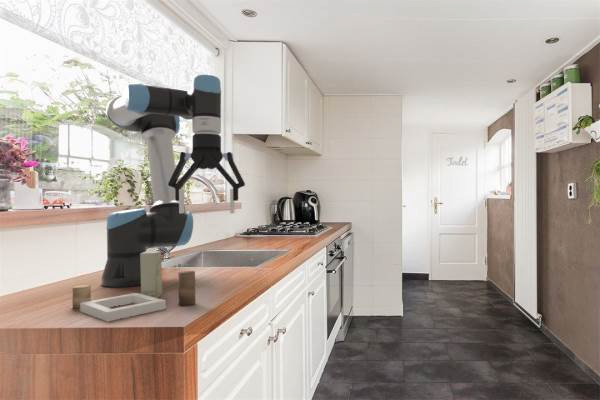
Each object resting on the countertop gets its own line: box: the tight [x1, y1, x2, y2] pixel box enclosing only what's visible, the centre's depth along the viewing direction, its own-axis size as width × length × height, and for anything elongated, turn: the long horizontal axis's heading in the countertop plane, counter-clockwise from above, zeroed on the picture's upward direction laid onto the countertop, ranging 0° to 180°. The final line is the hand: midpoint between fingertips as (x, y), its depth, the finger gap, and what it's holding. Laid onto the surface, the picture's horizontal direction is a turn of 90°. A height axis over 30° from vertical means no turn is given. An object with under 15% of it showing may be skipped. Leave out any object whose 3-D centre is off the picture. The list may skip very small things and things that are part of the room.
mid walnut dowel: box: [177, 270, 196, 307], centre depth 108 cm, size 4×4×8 cm
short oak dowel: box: [71, 284, 92, 310], centre depth 106 cm, size 4×4×5 cm
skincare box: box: [140, 250, 163, 299], centre depth 117 cm, size 6×4×12 cm
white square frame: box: [79, 292, 167, 322], centre depth 103 cm, size 14×14×2 cm
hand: (207, 213), depth 117 cm, fingers open, 13 cm apart
